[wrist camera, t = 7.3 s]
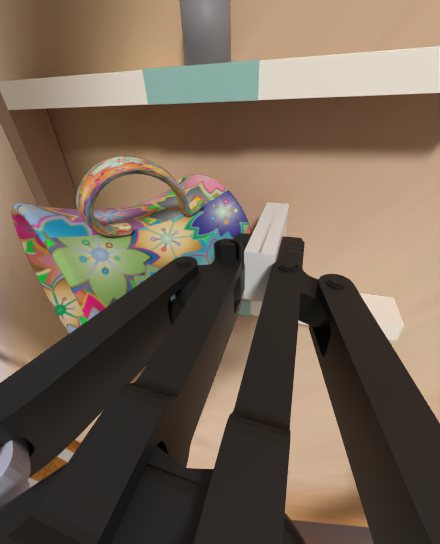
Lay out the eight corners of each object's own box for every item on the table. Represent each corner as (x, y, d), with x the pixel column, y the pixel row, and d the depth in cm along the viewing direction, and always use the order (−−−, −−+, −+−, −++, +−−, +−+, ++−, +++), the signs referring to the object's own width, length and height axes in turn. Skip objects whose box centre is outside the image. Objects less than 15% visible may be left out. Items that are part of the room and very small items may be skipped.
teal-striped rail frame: (2, 27, 17) (-52, 16, 14) (554, -58, 10) (638, -109, 7) (102, 288, 29) (82, 306, 27) (375, 337, 22) (383, 368, 20)
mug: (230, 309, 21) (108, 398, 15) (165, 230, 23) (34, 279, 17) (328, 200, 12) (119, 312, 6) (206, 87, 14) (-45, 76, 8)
